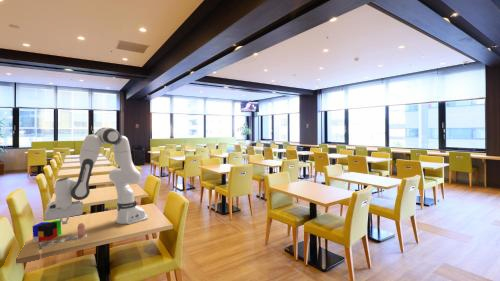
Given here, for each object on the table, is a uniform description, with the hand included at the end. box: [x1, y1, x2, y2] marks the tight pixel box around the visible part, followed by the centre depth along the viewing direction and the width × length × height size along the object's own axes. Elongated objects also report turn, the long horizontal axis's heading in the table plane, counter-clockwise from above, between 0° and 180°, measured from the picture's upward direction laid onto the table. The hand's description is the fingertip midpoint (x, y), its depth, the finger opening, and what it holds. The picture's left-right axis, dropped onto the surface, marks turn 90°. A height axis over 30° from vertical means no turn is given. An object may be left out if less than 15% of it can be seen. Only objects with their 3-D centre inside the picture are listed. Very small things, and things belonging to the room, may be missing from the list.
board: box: [37, 233, 88, 251], centre depth 162 cm, size 25×8×1 cm, turn 128°
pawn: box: [77, 222, 86, 238], centre depth 167 cm, size 4×4×8 cm
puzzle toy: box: [32, 219, 62, 243], centre depth 166 cm, size 10×10×10 cm
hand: (64, 224), depth 171 cm, fingers closed
